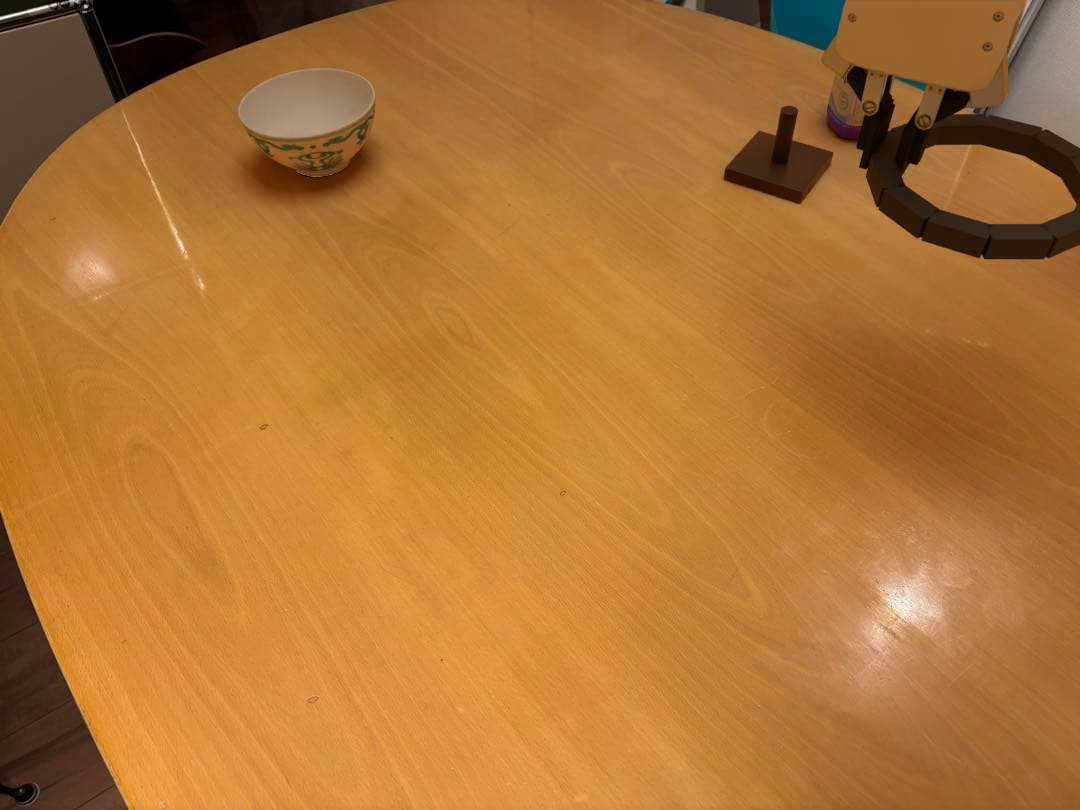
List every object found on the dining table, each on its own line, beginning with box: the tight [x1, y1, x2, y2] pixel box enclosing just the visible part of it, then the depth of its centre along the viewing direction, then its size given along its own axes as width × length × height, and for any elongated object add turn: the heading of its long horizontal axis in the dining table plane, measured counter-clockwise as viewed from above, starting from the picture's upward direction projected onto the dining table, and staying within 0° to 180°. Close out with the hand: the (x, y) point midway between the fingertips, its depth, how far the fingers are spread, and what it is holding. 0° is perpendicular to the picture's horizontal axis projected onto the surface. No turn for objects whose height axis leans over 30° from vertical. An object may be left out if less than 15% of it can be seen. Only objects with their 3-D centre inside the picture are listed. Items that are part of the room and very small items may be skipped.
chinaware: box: [237, 67, 376, 177], centre depth 99 cm, size 15×15×8 cm
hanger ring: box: [865, 113, 1080, 260], centre depth 59 cm, size 15×15×2 cm
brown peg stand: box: [723, 105, 834, 204], centre depth 95 cm, size 9×9×8 cm
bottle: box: [826, 72, 865, 139], centre depth 97 cm, size 7×6×17 cm
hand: (885, 162), depth 62 cm, fingers closed on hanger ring, 1 cm apart
